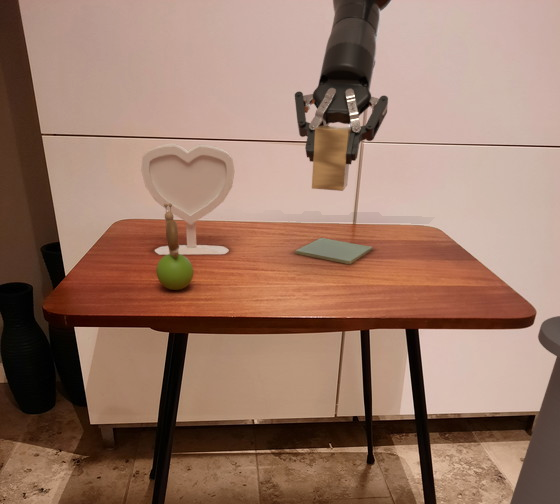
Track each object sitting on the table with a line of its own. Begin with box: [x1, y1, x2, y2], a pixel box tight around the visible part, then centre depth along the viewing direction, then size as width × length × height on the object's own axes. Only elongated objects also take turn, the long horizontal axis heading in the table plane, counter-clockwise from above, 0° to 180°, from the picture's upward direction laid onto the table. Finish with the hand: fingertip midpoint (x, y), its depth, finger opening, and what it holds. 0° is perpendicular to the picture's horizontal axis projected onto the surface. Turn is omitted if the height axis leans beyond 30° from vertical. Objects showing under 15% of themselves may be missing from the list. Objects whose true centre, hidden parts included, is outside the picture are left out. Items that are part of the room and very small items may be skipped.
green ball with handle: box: [156, 203, 194, 291], centre depth 80 cm, size 5×6×12 cm
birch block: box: [311, 125, 352, 192], centre depth 78 cm, size 5×5×8 cm
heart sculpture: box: [140, 143, 235, 256], centre depth 96 cm, size 16×5×18 cm, turn 98°
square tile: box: [294, 237, 373, 265], centre depth 103 cm, size 11×11×1 cm
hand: (330, 158), depth 77 cm, fingers closed on birch block, 4 cm apart
